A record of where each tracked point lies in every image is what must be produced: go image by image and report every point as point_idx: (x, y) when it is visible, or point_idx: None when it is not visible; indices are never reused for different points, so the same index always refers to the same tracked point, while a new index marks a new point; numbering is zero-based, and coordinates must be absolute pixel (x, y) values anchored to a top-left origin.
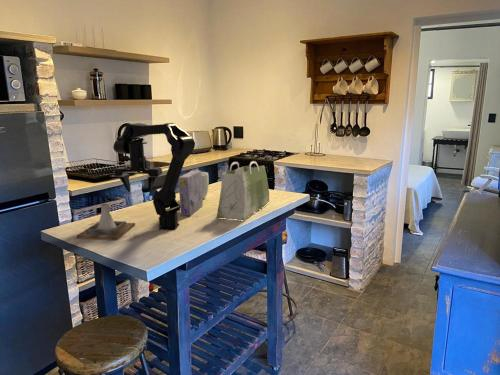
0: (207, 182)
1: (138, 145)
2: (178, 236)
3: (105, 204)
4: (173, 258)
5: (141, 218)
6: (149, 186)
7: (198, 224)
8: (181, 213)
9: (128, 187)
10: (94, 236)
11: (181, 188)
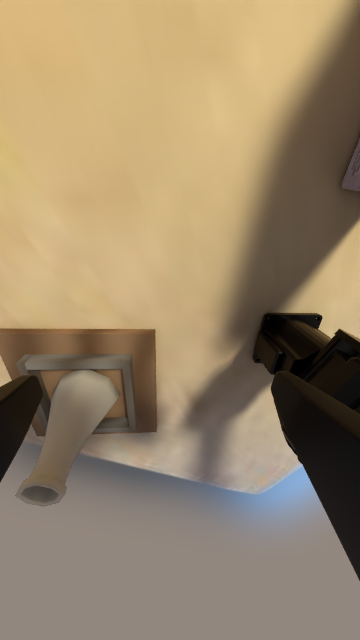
0: None
1: None
2: None
3: (34, 483)
4: (297, 469)
5: (141, 237)
6: (323, 480)
7: None
8: (352, 186)
9: (5, 451)
10: (92, 433)
11: None
